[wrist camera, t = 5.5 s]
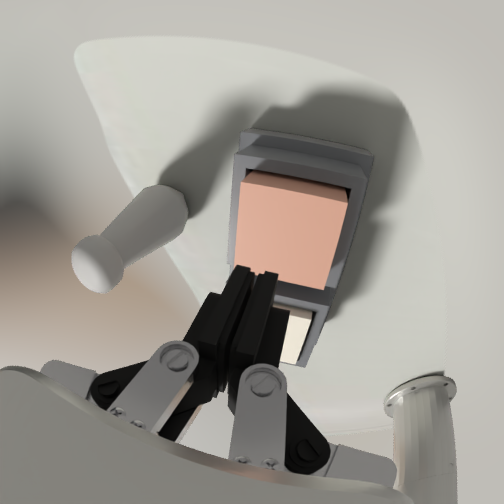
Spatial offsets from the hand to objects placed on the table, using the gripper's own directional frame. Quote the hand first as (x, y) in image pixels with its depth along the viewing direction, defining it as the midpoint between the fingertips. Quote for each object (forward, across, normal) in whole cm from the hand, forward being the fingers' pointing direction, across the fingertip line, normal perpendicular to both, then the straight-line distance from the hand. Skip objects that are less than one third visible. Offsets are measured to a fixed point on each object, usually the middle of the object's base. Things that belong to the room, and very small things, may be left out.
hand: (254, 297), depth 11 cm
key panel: (+15, -1, +6) cm, 16 cm away
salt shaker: (+15, +12, +4) cm, 20 cm away
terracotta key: (+10, -1, +1) cm, 10 cm away
